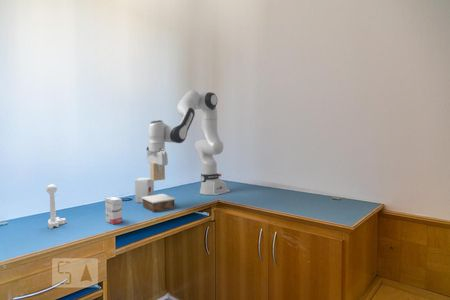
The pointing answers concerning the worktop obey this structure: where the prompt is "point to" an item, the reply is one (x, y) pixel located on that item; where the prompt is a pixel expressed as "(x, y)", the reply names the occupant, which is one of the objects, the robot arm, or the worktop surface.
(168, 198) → the podium
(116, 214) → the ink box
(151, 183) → the supplement box
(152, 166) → the carton
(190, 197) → the worktop surface
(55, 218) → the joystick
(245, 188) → the worktop surface
